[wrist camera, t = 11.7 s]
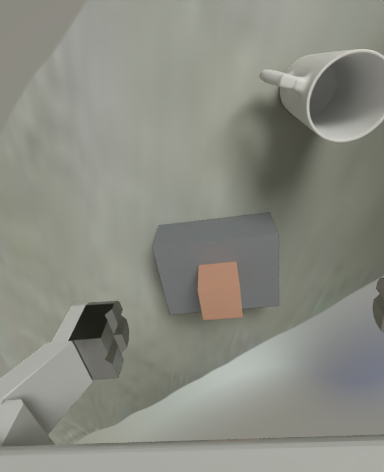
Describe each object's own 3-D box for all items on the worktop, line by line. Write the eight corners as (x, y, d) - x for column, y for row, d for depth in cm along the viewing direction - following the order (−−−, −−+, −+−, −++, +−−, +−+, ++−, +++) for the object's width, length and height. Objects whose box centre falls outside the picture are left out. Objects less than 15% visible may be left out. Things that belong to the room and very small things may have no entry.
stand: (269, 212, 42) (278, 234, 37) (271, 279, 48) (279, 305, 43) (158, 225, 44) (152, 247, 39) (173, 288, 50) (169, 314, 45)
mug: (350, 61, 33) (416, 63, 22) (321, 124, 36) (367, 151, 26) (261, 35, 32) (287, 24, 21) (241, 102, 35) (255, 121, 25)
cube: (236, 261, 39) (239, 286, 35) (239, 290, 42) (242, 317, 38) (198, 265, 40) (197, 290, 36) (203, 293, 42) (203, 320, 38)
